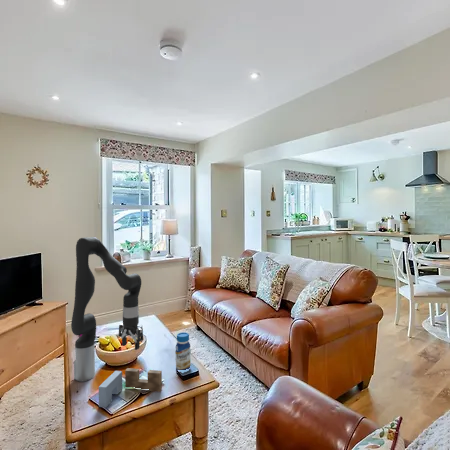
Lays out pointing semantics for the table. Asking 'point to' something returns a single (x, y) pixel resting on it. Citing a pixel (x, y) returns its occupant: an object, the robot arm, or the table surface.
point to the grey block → (110, 388)
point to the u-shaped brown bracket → (144, 380)
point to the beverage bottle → (183, 352)
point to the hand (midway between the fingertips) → (130, 347)
